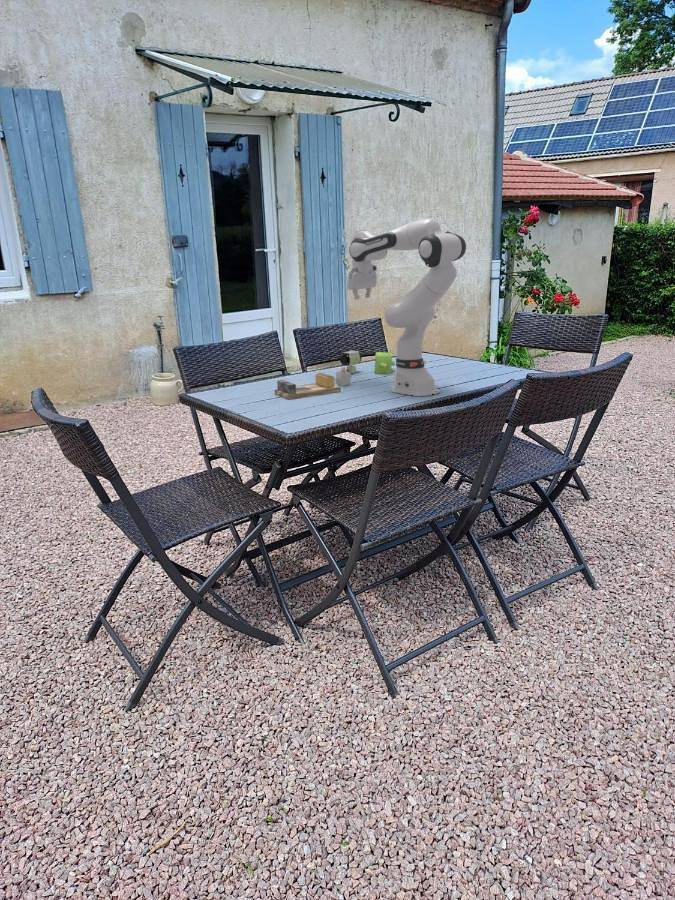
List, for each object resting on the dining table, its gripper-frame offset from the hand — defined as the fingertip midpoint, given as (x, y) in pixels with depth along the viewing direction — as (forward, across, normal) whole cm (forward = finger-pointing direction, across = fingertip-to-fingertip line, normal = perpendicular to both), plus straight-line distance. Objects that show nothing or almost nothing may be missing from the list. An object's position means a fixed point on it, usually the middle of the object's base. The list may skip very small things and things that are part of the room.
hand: (362, 298), depth 311 cm
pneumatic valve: (+39, +12, +15) cm, 43 cm away
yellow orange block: (+36, -27, +4) cm, 45 cm away
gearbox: (+39, +23, +1) cm, 45 cm away
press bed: (+39, -35, +8) cm, 53 cm away
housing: (+39, -13, +3) cm, 41 cm away
